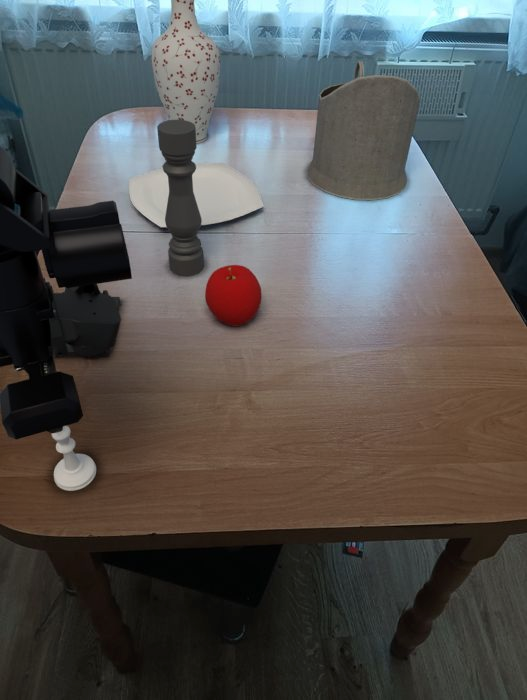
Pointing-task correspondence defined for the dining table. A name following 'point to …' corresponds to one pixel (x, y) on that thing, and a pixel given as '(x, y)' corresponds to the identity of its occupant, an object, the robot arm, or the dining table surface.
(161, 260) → the dining table surface
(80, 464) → the chess piece
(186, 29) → the vase
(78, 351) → the black button base
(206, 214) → the plate
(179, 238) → the candle holder
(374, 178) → the pitcher
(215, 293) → the fruit
